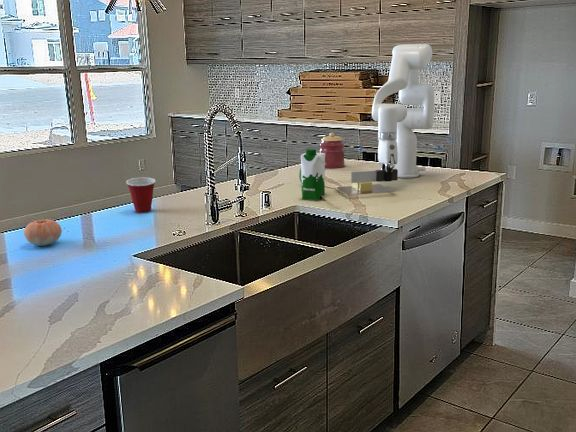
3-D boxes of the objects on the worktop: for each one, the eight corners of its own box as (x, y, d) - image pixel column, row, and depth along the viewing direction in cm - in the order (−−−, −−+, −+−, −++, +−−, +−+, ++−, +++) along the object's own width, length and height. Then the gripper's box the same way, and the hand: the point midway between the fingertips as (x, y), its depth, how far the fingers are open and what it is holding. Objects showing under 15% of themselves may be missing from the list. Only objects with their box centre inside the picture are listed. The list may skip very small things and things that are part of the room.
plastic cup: (132, 216, 215) (129, 184, 212) (125, 210, 225) (122, 179, 222) (161, 212, 220) (159, 180, 217) (153, 206, 230) (151, 176, 226)
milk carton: (299, 199, 236) (298, 150, 231) (307, 194, 244) (307, 146, 239) (319, 201, 232) (319, 151, 227) (327, 196, 240) (327, 147, 235)
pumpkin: (25, 251, 177) (22, 225, 175) (25, 241, 187) (22, 217, 185) (64, 246, 181) (61, 221, 179) (62, 237, 191) (59, 213, 189)
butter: (362, 186, 251) (362, 178, 250) (369, 189, 245) (369, 181, 244) (351, 187, 250) (351, 179, 249) (357, 190, 243) (357, 182, 242)
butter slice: (370, 190, 243) (370, 181, 243) (372, 191, 242) (372, 182, 241) (358, 190, 242) (358, 182, 241) (360, 191, 240) (360, 183, 240)
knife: (395, 179, 247) (395, 168, 246) (397, 180, 245) (397, 169, 244) (350, 182, 242) (350, 171, 241) (352, 183, 240) (352, 172, 239)
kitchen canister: (318, 168, 303) (318, 133, 299) (321, 164, 315) (320, 131, 311) (343, 168, 301) (343, 133, 296) (345, 164, 313) (345, 130, 309)
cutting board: (379, 187, 255) (379, 183, 255) (395, 195, 240) (395, 191, 240) (335, 190, 250) (335, 187, 250) (349, 198, 235) (349, 195, 235)
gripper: (404, 138, 234) (403, 183, 238) (387, 133, 249) (386, 176, 253) (387, 138, 232) (386, 184, 236) (371, 134, 247) (370, 177, 251)
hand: (386, 180), depth 245 cm, fingers closed on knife, 2 cm apart
